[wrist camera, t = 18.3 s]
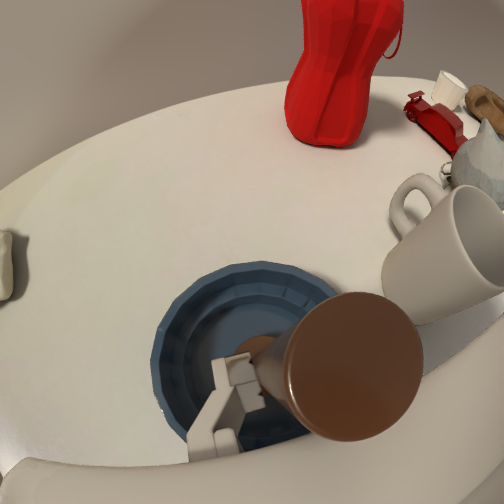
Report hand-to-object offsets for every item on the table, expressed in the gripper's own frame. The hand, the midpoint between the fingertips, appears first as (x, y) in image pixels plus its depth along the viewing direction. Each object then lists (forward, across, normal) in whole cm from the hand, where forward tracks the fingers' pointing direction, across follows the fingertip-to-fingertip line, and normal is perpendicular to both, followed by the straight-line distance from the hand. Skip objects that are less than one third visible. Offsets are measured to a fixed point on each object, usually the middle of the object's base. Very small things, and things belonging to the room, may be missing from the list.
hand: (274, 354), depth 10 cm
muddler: (+6, 0, +7) cm, 9 cm away
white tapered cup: (+30, -50, -14) cm, 59 cm away
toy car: (+23, -37, -7) cm, 44 cm away
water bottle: (+24, -16, -9) cm, 31 cm away
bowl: (+27, -64, -11) cm, 70 cm away
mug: (+10, -16, +6) cm, 20 cm away
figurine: (+14, -29, +2) cm, 32 cm away
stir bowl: (+7, 0, +8) cm, 11 cm away
